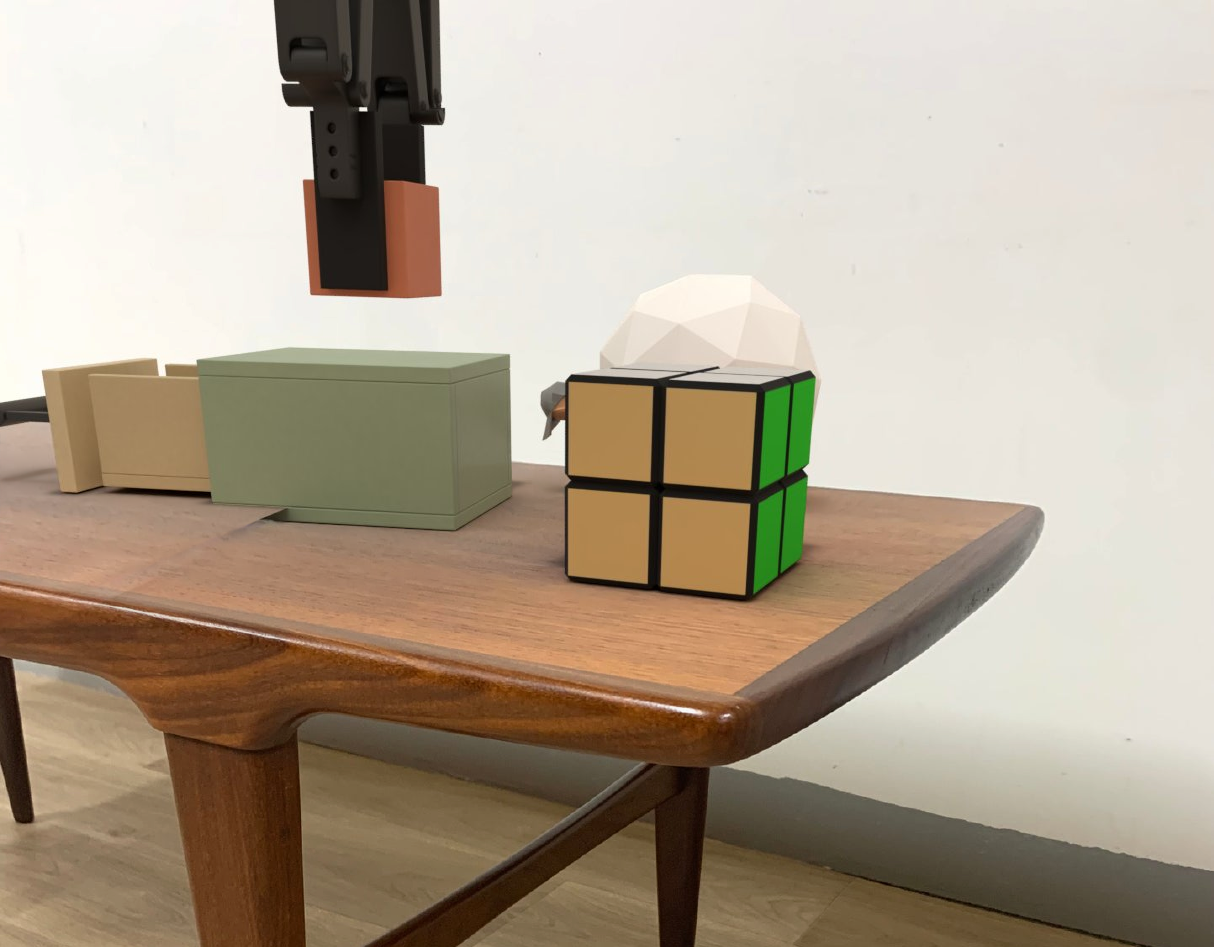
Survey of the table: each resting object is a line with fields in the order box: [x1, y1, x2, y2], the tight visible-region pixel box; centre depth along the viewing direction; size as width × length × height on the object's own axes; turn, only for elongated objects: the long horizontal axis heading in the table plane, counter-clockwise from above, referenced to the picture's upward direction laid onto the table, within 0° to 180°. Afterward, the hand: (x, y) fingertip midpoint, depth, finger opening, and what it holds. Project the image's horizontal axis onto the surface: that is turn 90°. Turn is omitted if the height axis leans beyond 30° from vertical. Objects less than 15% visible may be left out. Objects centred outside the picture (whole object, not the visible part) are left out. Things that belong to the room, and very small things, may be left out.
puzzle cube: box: [564, 363, 816, 601], centre depth 64 cm, size 10×10×10 cm
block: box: [302, 178, 443, 299], centre depth 54 cm, size 4×4×4 cm
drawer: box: [0, 357, 211, 494], centre depth 83 cm, size 21×12×7 cm, turn 78°
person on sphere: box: [539, 273, 822, 441], centre depth 84 cm, size 14×15×20 cm
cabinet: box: [195, 346, 513, 532], centre depth 80 cm, size 16×13×9 cm
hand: (377, 287), depth 54 cm, fingers closed on block, 4 cm apart
